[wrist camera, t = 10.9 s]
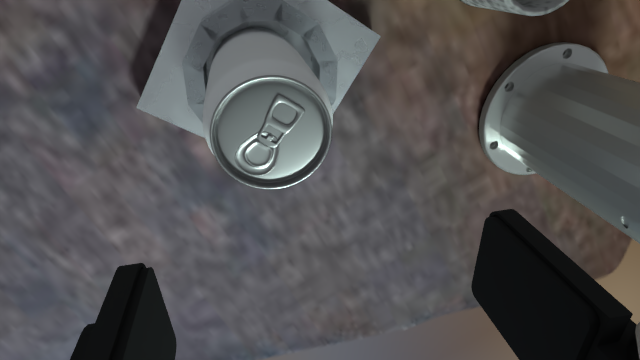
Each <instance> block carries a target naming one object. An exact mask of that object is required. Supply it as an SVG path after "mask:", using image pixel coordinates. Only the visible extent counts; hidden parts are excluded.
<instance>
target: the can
mask: <svg viewBox="0 0 640 360" xmlns="http://www.w3.org/2000/svg"><path fill="white" fill-rule="evenodd" d="M202 119H203V130H204V135H205V138H206V141H207V144H208V146H209V148H210V150H211V151H212V153H213V154H214V156H215V158H216V160H217V161H218V163H219V164H220V166H221V167H222V168H223V169H224V170H225V171H226V172H227V173H228V174H229V175H230V176H231V177H233V178H234V179H236V180H237V181H239V182H241V183H243V184H245V185H248V186H251V187H254V188H260V189H280V188H285V187H288V186H292V185H294V184H296V183H299V182H301V181H302V180H304V179H306V178H307V177H308V176H310V175H311V174H312V173H313V172H314V171H315V170H316V169H317V168H318V167H319V166H320V165H321V163H322V162H323V160H324V159H325V157H326V155H327V153H328V150H329V147H330V144H331V138H332V124H333V115H332V108H331V104H330V101H329V98H328V95H327V93H326V91H325V89H324V87H323V86H322V84H321V83H320V81H319V80H318V78H317V77H316V76H315V74H314V73H313V72H312V70H311V69H310V68H309V66H308V65H307V64H306V62H305V61H304V60H303V58H302V57H301V56H300V55H299V53H298V52H297V51H296V49H295V48H294V47H293V46H292V45H291V44H290V42H289V41H288V40H286V39H285V38H284V37H283V36H281V35H280V34H278V33H276V32H274V31H272V30H269V29H265V28H257V27H253V28H246V29H242V30H239V31H237V32H235V33H233V34H231V35H230V36H228V37H227V38H226V39H225V40H224V41H223V42H222V43H221V44H220V46H219V47H218V48H217V50H216V52H215V54H214V57H213V60H212V64H211V68H210V73H209V78H208V83H207V89H206V94H205V100H204V106H203V118H202Z"/></svg>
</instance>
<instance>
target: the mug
mask: <svg viewBox="0 0 640 360" xmlns="http://www.w3.org/2000/svg"><path fill="white" fill-rule="evenodd" d="M460 1H462V2H464V3H465V4H467V5H471V6H475V7H481V8H487V9H492V10H498V11H504V12H510V13H516V14H522V15H527V16H540V15H544V14H548V13H551V12H553V11H555V10H557V9H558V8H560V7H561V6H563V5H564V4H565V3H566V2H568V1H569V0H460Z"/></svg>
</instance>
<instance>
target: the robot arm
mask: <svg viewBox="0 0 640 360" xmlns="http://www.w3.org/2000/svg"><path fill="white" fill-rule="evenodd" d="M479 137H480V143H481V146H482V148H483V151H484V153H485V154H486V156H487V157H488V158H489V160H490V161H492V162H493V163H494V164H495V165H496V166H498V167H499V168H501V169H503V170H504V171H506V172H509V173H513V174H520V175H527V174H535V173H537V174H539V175H540V176H542V177H543V178H545V179H546V180H548V181H549V182H550V183H552V184H553V185H555V186H556V187H558V188H559V189H561V190H562V191H564V192H565V193H567V194H568V195H569V196H571V197H572V198H574V199H575V200H577V201H578V202H580V203H581V204H583V205H584V206H586V207H587V208H589V209H590V210H591V211H593V212H594V213H596V214H597V215H599V216H600V217H602V218H603V219H605V220H606V221H608V222H609V223H610V224H612V225H613V226H615V227H616V228H618V229H619V230H621V231H622V232H624V233H625V234H627V235H628V236H630V237H631V238H632V239H634V240H635V241H637V242H638V243H640V83H638V82H635V81H632V80H628V79H625V78H621V77H618V76H614V75H611V74H608V70H607V68H606V65H605V63H604V61H603V60H602V59H601V57H600V56H599V55H598V54H597V53H596V52H594V51H593V50H591V49H590V48H588V47H585V46H582V45H579V44H573V43H568V42H560V43H551V44H548V45H544V46H541V47H539V48H536V49H534V50H532V51H530V52H528V53H527V54H525V55H524V56H522V57H521V58H519V59H518V60H516V61H515V62H514V63H513V64H512V65H511V66H510V67H509V68H508V69H507V70H506V71H505V72H504V73H503V74H502V75H501V76H500V78H499V79H498V80H497V81H496V83H495V84H494V86H493V88H492V89H491V91H490V93H489V94H488V96H487V99H486V101H485V103H484V106H483V108H482V112H481V117H480V121H479ZM472 292H473V295H474V297H475V298H476V300H477V301H478V303H479V304H480V305H481V307H482V308H483V309H484V311H485V312H486V314H487V315H488V316H489V318H490V319H491V321H492V322H493V323H494V325H495V326H496V328H497V329H498V330H499V332H500V333H501V335H502V336H503V338H504V339H505V340H506V342H507V343H508V345H509V346H510V347H511V349H512V350H513V352H514V353H515V354H516V356H517V357H518V359H519V360H640V322H639V323H638V324H637V325H636V324H635V323H634V322H633V321H632V320H631V319H630V318H631V316H632V313H631V312H630V311H629V310H628V309H627V308H625V307H624V306H623V305H622V304H621V303H620V302H619V301H618V300H616V299H615V298H614V297H613V296H612V295H611V294H610V293H608V292H607V291H606V290H605V289H604V288H603V287H602V286H601V285H599V284H598V283H597V282H596V281H595V280H594V279H593V278H591V277H590V276H589V275H588V274H587V273H586V272H585V271H584V270H582V269H581V268H580V267H579V266H578V265H577V264H576V263H574V262H573V261H572V260H571V259H570V258H569V257H568V256H567V255H565V254H564V253H563V252H562V251H561V250H560V249H559V248H557V247H556V246H555V245H554V244H553V243H552V242H551V241H550V240H548V239H547V238H546V237H545V236H544V235H543V234H542V233H540V232H539V231H538V230H537V229H536V228H535V227H534V226H532V225H531V224H530V223H529V222H528V221H527V220H526V219H525V218H523V217H522V216H521V215H520V214H519V213H518V212H517V211H515V210H513V209H508V210H501V211H494V212H492V213H491V214H490V216H489V217H488V218H486V220H485V222H484V227H483V232H482V237H481V242H480V246H479V251H478V256H477V261H476V266H475V271H474V275H473V280H472ZM175 354H176V337H175V334H174V331H173V328H172V325H171V322H170V318H169V315H168V312H167V309H166V306H165V303H164V300H163V297H162V294H161V291H160V288H159V285H158V282H157V279H156V276H155V273H154V270H153V268H151V267H150V268H146V267H145V265H144V264H143V263H138V264H131V265H124V266H119V267H118V268H117V270H116V272H115V275H114V277H113V280H112V282H111V285H110V287H109V290H108V292H107V295H106V297H105V300H104V302H103V305H102V307H101V310H100V312H99V315H98V317H97V320H96V322H95V323H94V324H88V325H87V326H86V327H85V328H84V329H83V331H82V333H81V335H80V337H79V340H78V342H77V344H76V347H75V349H74V352H73V354H72V356H71V359H70V360H175Z"/></svg>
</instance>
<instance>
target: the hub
mask: <svg viewBox="0 0 640 360" xmlns="http://www.w3.org/2000/svg"><path fill="white" fill-rule="evenodd" d="M253 27H257V28H265V29H269V30H272V31H274V32H276V33H278V34H280V35H281V36H283V37H284V38H285V39H286V40H288V41H289V42H290V44H291V45H292V46H293V47H294V48H295V49H296V51H297V52H298V53H299V55H300V56H301V57H302V58H303V60H304V61H305V62H306V64H307V65H308V66H309V68H310V69H311V70H312V72H313V73H314V74H315V76H316V77H317V78H318V80H319V81H320V83H321V84H322V86H323V87H324V89H325V91H326V93H327V95H328V98H329V101H330V104H331V108H332V115H333V113H334V111H335V110H336V108H337V106H338V105H339V103H340V102H341V100H342V98H343V97H344V95H345V93H346V92H347V90H348V89H349V87H350V85H351V84H352V82H353V81H354V79H355V77H356V76H357V74H358V72H359V71H360V69H361V68H362V66H363V64H364V63H365V61H366V59H367V58H368V56H369V55H370V53H371V51H372V50H373V48H374V46H375V45H376V43H377V42H378V40H379V38H380V37H381V36H379V35H378V34H376V33H375V32H373V31H372V30H370V29H369V28H368V27H366V26H365V25H363V24H362V23H360V22H359V21H357V20H356V19H354V18H353V17H351V16H350V15H348V14H347V13H345V12H344V11H342V10H341V9H340V8H338V7H337V6H335V5H334V4H332V3H331V2H329V1H328V0H181V3H180V5H179V7H178V10H177V12H176V15H175V17H174V19H173V22H172V24H171V27H170V29H169V31H168V34H167V36H166V38H165V41H164V43H163V46H162V48H161V50H160V53H159V55H158V57H157V60H156V62H155V65H154V67H153V69H152V72H151V74H150V77H149V79H148V81H147V84H146V86H145V88H144V91H143V93H142V96H141V98H140V100H139V103H138V105H137V107H136V108H138V109H140V110H142V111H144V112H147V113H149V114H151V115H154V116H156V117H158V118H160V119H163V120H165V121H167V122H170V123H172V124H174V125H176V126H179V127H181V128H183V129H186V130H188V131H190V132H192V133H195V134H197V135H199V136H201V137H204V138H205V135H204V130H203V119H202V118H203V106H204V100H205V94H206V89H207V83H208V78H209V73H210V68H211V64H212V60H213V57H214V54H215V52H216V50H217V48H218V47H219V46H220V44H221V43H222V42H223V41H224V40H225V39H226V38H227V37H228V36H230V35H231V34H233V33H235V32H237V31H239V30H242V29H246V28H253Z"/></svg>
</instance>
